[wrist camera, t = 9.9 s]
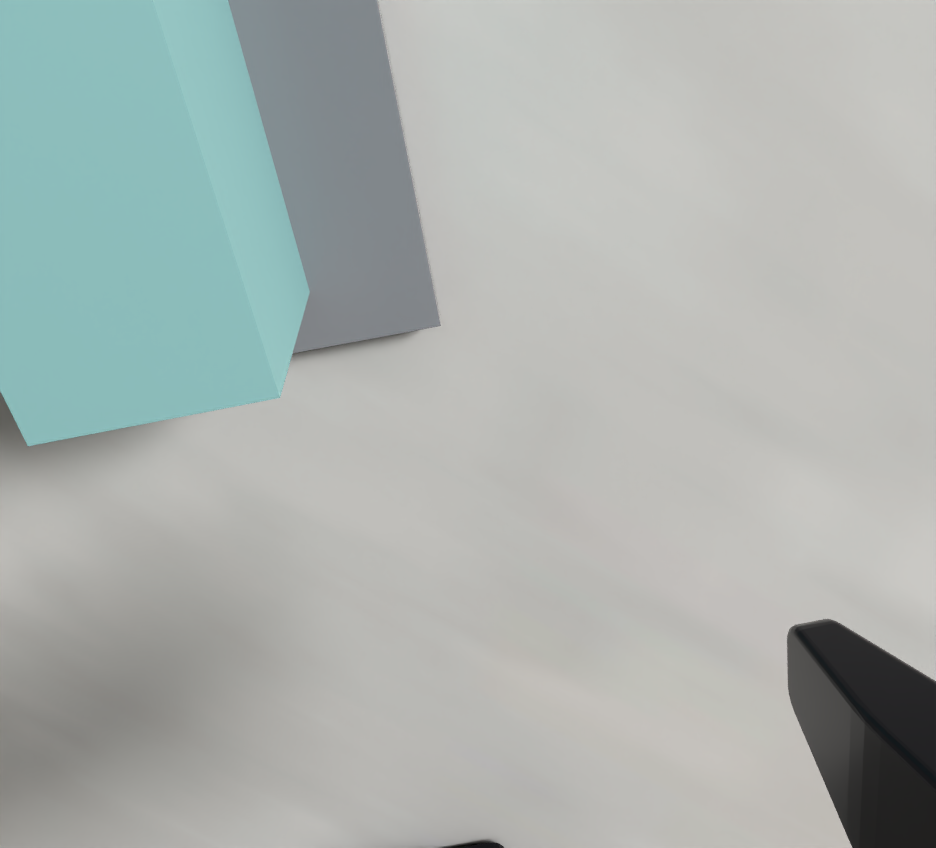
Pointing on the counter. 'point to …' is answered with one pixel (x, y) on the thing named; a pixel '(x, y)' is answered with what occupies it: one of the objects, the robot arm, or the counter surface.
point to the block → (136, 219)
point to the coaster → (340, 165)
